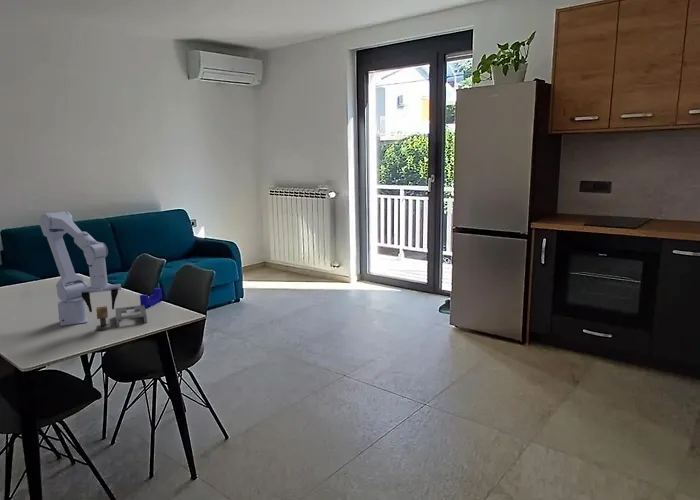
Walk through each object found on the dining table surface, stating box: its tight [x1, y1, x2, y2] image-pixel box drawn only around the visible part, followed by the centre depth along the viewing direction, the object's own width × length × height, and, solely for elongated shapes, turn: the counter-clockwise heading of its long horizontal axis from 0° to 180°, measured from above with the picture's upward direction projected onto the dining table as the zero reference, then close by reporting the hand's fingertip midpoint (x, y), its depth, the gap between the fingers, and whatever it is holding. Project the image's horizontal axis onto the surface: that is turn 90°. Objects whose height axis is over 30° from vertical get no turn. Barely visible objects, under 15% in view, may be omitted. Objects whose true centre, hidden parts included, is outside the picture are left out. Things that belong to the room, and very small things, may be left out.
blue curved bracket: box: [139, 287, 163, 310], centre depth 224 cm, size 12×4×6 cm, turn 169°
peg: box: [95, 305, 112, 332], centre depth 193 cm, size 5×5×8 cm
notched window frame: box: [114, 304, 148, 328], centre depth 204 cm, size 11×14×3 cm
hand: (102, 310), depth 193 cm, fingers open, 7 cm apart
